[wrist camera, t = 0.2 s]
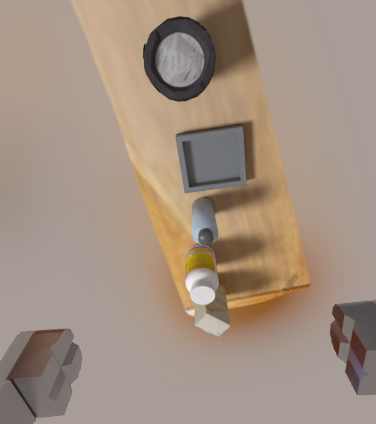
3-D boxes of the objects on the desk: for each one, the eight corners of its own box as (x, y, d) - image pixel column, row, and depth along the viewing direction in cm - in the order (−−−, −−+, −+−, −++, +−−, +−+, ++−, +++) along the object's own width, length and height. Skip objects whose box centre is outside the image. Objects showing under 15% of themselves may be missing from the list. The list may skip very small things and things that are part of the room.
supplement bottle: (181, 248, 65) (180, 287, 54) (209, 239, 64) (214, 277, 53) (191, 270, 68) (192, 312, 56) (218, 262, 67) (225, 303, 55)
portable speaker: (201, 23, 46) (210, -3, 28) (212, 86, 50) (227, 97, 33) (149, 37, 47) (127, 21, 29) (164, 98, 51) (153, 115, 33)
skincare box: (225, 285, 70) (232, 325, 59) (214, 297, 71) (218, 338, 61) (203, 273, 68) (206, 313, 57) (193, 285, 70) (194, 326, 59)
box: (176, 134, 54) (175, 136, 52) (241, 124, 53) (243, 127, 51) (185, 189, 59) (184, 193, 57) (244, 181, 58) (246, 184, 56)
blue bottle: (190, 199, 60) (191, 229, 48) (211, 196, 59) (217, 226, 48) (193, 217, 62) (194, 251, 50) (214, 215, 61) (220, 248, 50)
